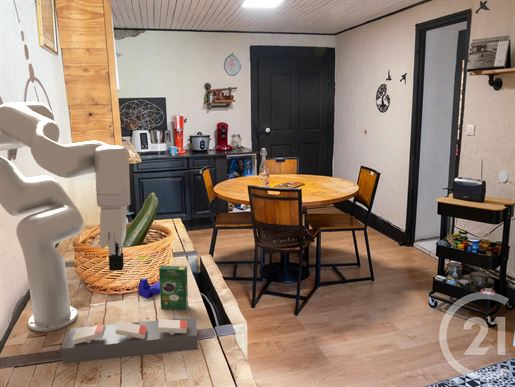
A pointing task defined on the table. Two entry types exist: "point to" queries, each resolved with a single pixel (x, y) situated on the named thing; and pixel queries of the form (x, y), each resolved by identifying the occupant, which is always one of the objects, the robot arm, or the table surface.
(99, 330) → the rocker
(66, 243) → the table surface
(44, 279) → the robot arm
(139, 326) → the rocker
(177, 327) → the rocker
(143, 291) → the blue piece
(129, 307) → the table surface
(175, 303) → the coffee box
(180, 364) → the table surface
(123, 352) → the rocker switch panel
